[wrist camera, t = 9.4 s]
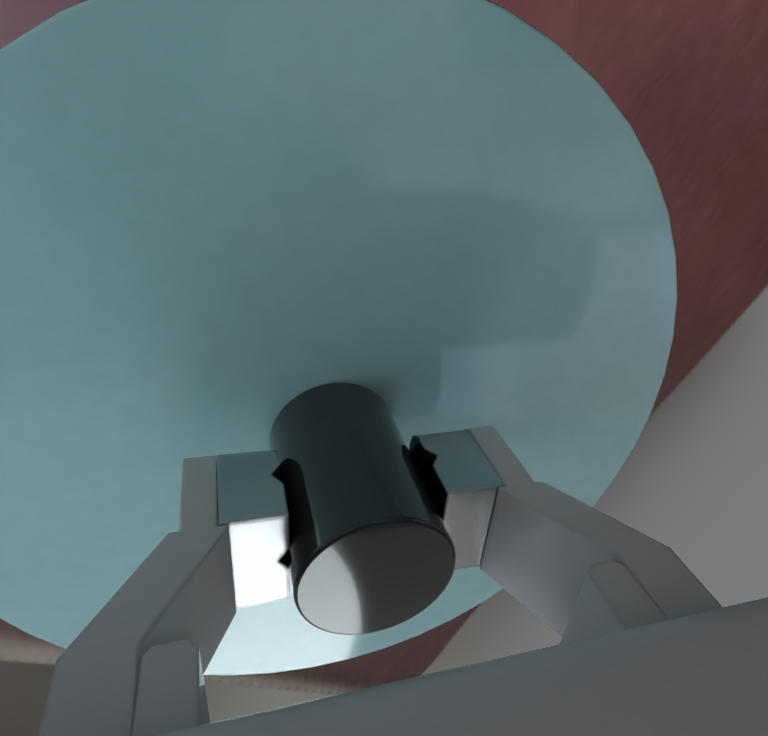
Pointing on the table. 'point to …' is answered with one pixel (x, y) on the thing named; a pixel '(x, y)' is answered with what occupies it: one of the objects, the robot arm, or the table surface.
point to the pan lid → (308, 294)
